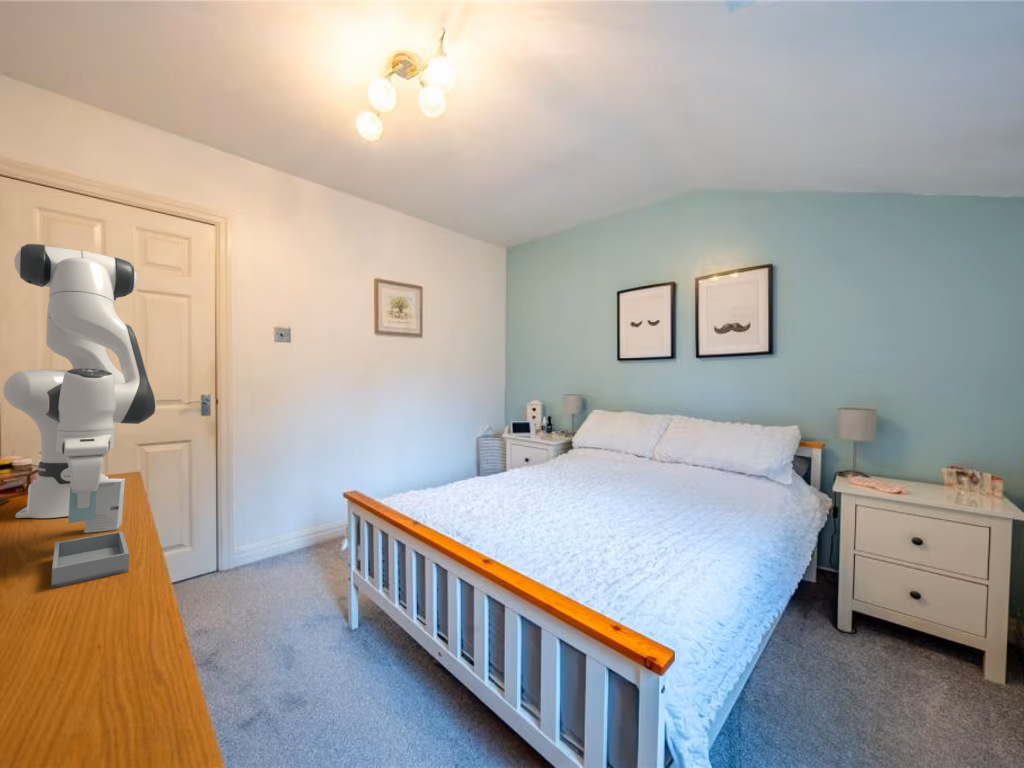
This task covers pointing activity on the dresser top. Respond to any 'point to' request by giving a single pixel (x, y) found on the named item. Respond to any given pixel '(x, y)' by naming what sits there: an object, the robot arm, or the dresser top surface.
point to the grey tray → (89, 558)
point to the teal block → (82, 513)
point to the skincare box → (107, 506)
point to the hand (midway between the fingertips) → (83, 504)
